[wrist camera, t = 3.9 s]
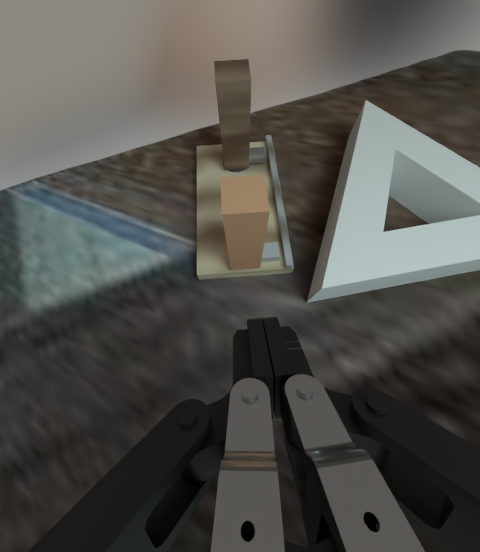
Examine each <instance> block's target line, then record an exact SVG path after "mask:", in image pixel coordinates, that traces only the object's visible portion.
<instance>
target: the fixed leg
mask: <svg viewBox="0 0 480 552" xmlns="http://www.w3.org/2000/svg"><path fill="white" fill-rule="evenodd" d="M215 82H216V92H217V101H218V111H219V121H220V131H221V140H222V150H223V159H224V169H225V170H234V169H248V168H249V164H253V163H265V152H264V147H254V148H249V146H250V103H251V101H250V100H251V77H250V70H249V62H248V59H246V60H231V61H215Z"/></svg>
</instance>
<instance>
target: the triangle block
mask: <svg viewBox="0 0 480 552" xmlns="http://www.w3.org/2000/svg"><path fill="white" fill-rule="evenodd" d="M388 196H391V197H392V198H393V199H395V200H396V201H397V202H399V203H400V204H402V205H403V206H404V207H406V208H407V209H409V210H410V211H411V212H413V213H414V214H416V215H417V216H418V217H420V218H421V219H423V220H424V221H425V222H427V223H428V224H426V225H420V226H415V227H409V228H403V229H398V230H392V231H386V232H383V230H384V223H385V216H386V209H387V202H388ZM476 270H480V168H479V167H478V166H476V165H474V164H473V163H471V162H469V161H468V160H466V159H464V158H462V157H461V156H459V155H457V154H456V153H454V152H452V151H451V150H449V149H447V148H446V147H444V146H442V145H441V144H439V143H437V142H435V141H434V140H432V139H430V138H429V137H427V136H425V135H424V134H422V133H420V132H419V131H417V130H415V129H414V128H412V127H410V126H409V125H407V124H405V123H403V122H402V121H400V120H398V119H397V118H395V117H393V116H392V115H390V114H388V113H387V112H385V111H383V110H382V109H380V108H378V107H377V106H375V105H373V104H371V103H370V102H368V101H365V103H364V105H363V107H362V110H361V112H360V114H359V116H358V118H357V120H356V122H355V125H354V127H353V129H352V131H351V133H350V135H349V137H348V141H347V145H346V149H345V153H344V157H343V161H342V165H341V169H340V173H339V177H338V181H337V185H336V189H335V192H334V196H333V200H332V204H331V208H330V212H329V216H328V220H327V224H326V228H325V232H324V236H323V240H322V244H321V248H320V252H319V256H318V260H317V264H316V268H315V271H314V275H313V279H312V283H311V287H310V291H309V295H308V299H307V302H312V301H318V300H323V299H328V298H333V297H339V296H344V295H349V294H355V293H360V292H365V291H370V290H376V289H381V288H386V287H391V286H397V285H402V284H407V283H413V282H418V281H423V280H428V279H434V278H439V277H444V276H450V275H455V274H460V273H465V272H471V271H476Z"/></svg>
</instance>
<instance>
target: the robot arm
mask: <svg viewBox="0 0 480 552" xmlns="http://www.w3.org/2000/svg"><path fill="white" fill-rule="evenodd" d="M247 327H248V329H246V330H237V332H236V333H235V335H234V337H233V385H232V388H231V390H230V392H229V393H228V394H227V395H226V396H225V397H224V398H222V399H221V400H219V401H216V402H214V403H211V404H209V405H206V404H205V403H204V402H202V401H200V400H196V399H190V400H186V401H183V402H181V403H180V404H178V405H177V406H176V407H174V408H173V409H172V410H171V411H170V412H169V413H168V414H167V415H166V416H165V417H164V418H163V419H162V420H161V421H160V422H159V423H158V424H157V425H156V426H155V427H154V428H153V429H152V430H151V431H150V432H149V433H148V434H147V435H146V436H145V437H144V438H143V439H142V440H141V441H140V442H139V443H138V444H137V445H136V446H135V447H134V448H133V449H132V450H131V451H130V452H129V453H128V454H127V455H126V456H125V457H124V458H123V459H122V460H121V461H120V462H119V463H118V464H117V465H116V466H115V467H113V468H112V469H111V470H110V471H109V472H108V473H107V474H106V475H105V476H104V477H103V478H102V479H101V480H100V481H99V482H98V483H97V484H96V485H95V486H94V487H93V488H92V489H91V490H90V491H89V492H88V493H87V494H86V495H85V496H84V497H83V498H82V499H81V500H80V501H79V502H78V503H77V504H76V505H75V506H74V507H73V508H72V509H71V510H70V511H69V512H68V513H67V514H66V515H65V516H64V517H63V518H62V519H61V520H60V521H59V522H58V523H57V524H56V525H55V526H54V527H53V528H52V529H51V530H50V531H49V532H47V533H46V534H45V535H44V536H43V537H42V538H41V539H40V540H39V541H38V542H37V543H36V544H35V545H34V546H33V547H32V548H31V549H30V550H29V551H28V552H167V551H168V549H169V548H170V546H171V545H172V543H173V542H174V540H175V539H176V537H177V536H178V534H179V533H180V531H181V530H182V528H183V527H184V525H185V523H186V522H187V520H188V519H189V517H190V516H191V514H192V513H193V511H194V510H195V508H196V507H197V505H198V504H199V502H200V501H201V499H202V498H203V496H204V495H205V493H206V491H207V490H208V488H209V487H210V485H211V484H212V482H213V481H214V479H215V477H216V475H217V474H219V479H218V489H217V498H216V508H215V517H214V526H213V536H212V545H211V552H425V551H424V549H423V547H422V546H421V544H420V542H419V540H418V539H417V537H416V535H415V533H414V531H413V530H412V528H411V526H410V524H409V523H408V521H409V522H410V523H411V524H412V525H414V526H415V527H416V528H417V529H418V530H419V531H420V532H421V533H422V534H423V535H425V536H426V537H427V538H428V539H429V540H430V541H431V542H432V543H433V544H435V545H436V546H437V547H438V548H439V549H440V550H441V551H442V552H480V449H479V448H477V447H475V446H473V445H472V444H470V443H468V442H467V441H465V440H463V439H462V438H460V437H458V436H457V435H455V434H453V433H451V432H450V431H448V430H446V429H445V428H443V427H441V426H440V425H438V424H436V423H435V422H433V421H431V420H429V419H428V418H426V417H424V416H423V415H421V414H419V413H418V412H416V411H414V410H412V409H411V408H409V407H407V406H406V405H404V404H402V403H401V402H399V401H397V400H396V399H394V398H392V397H390V396H389V395H387V394H385V393H384V392H382V391H380V390H377V389H374V388H369V387H364V388H359V389H357V390H356V391H355V392H354V393H353V396H351V395H347V394H342V393H337V392H334V391H331V390H328V389H326V388H325V387H323V385H322V384H321V383H320V382H319V381H318V380H317V379H315V378H314V376H313V374H312V372H311V369H310V367H309V364H308V362H307V360H306V357H305V355H304V352H303V350H302V347H301V345H300V342H299V340H298V338H297V335H296V333H295V332H294V331H293V330H292V329H291V328H290V327H289V326H287V327H280V325H279V321H278V318H277V317H269V318H262V319H261V318H256V319H247ZM274 414H275V418H282V422H283V427H284V442H285V446H286V449H287V453H288V457H289V461H290V464H291V468H292V472H293V476H294V479H295V483H296V487H297V491H298V494H299V498H300V502H301V507H302V513H303V521H304V527H305V532H306V536H307V540H308V544H309V547H308V548H306V547H302V546H299V545H295V544H292V543H289V542H286V541H284V537H283V526H282V515H281V504H280V493H279V482H278V472H277V463H276V459H275V451H274V439H273V428H272V419H274ZM407 520H408V521H407Z"/></svg>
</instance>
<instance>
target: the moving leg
mask: <svg viewBox="0 0 480 552" xmlns="http://www.w3.org/2000/svg"><path fill="white" fill-rule="evenodd" d="M220 183H221V203H222V217H223V224H224V230H225V237H226V243H227V250H228V256H229V263H230V269H231V270H241V269H255V268H260V266H261V262H263V261H277V260H279V259H280V252H279V245H278V242H271V243H265V237H266V231H267V225H268V219H269V214H270V209H269V202H268V195H267V188H266V181H265V174H264V175H250V176H235V177H221V178H220Z"/></svg>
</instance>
